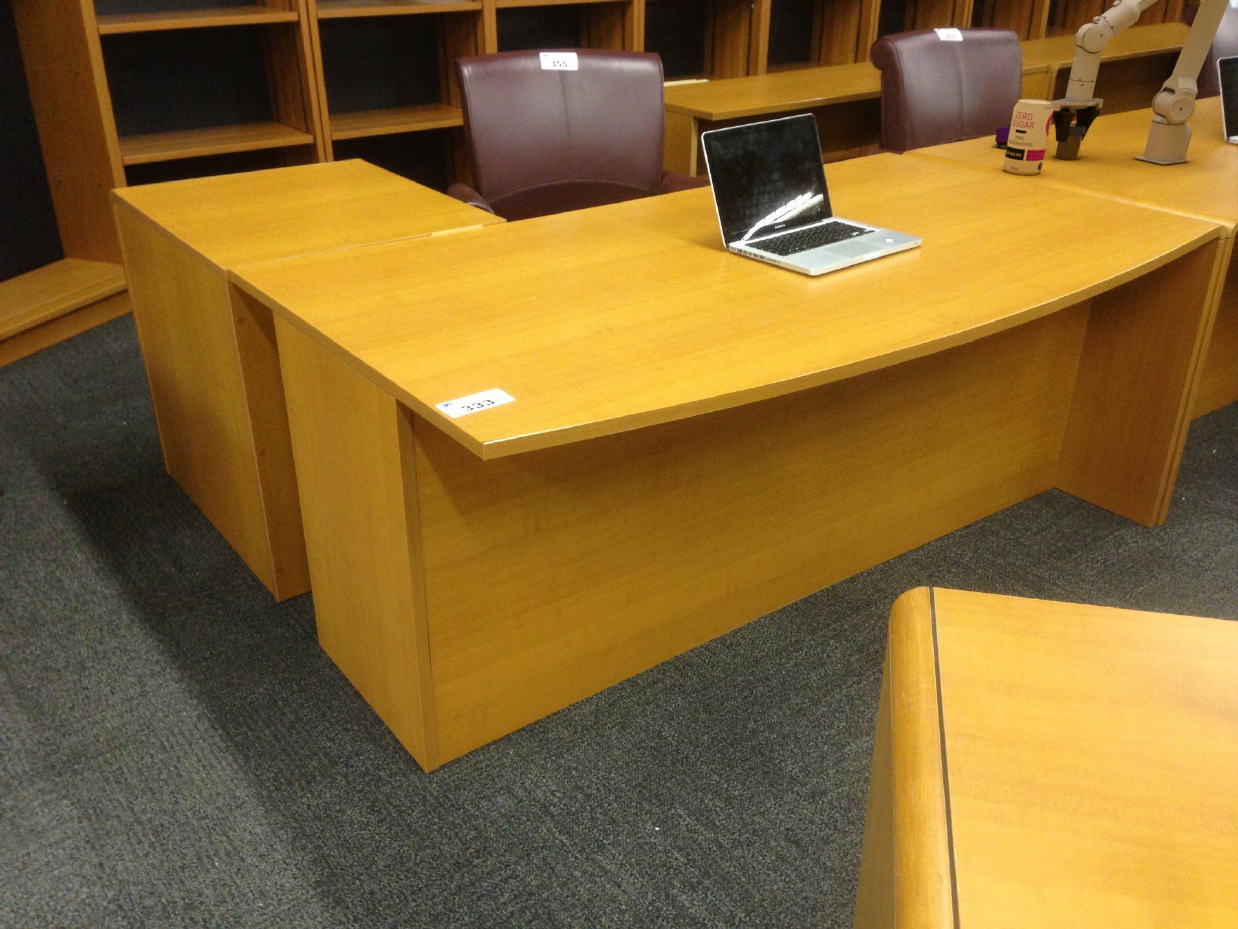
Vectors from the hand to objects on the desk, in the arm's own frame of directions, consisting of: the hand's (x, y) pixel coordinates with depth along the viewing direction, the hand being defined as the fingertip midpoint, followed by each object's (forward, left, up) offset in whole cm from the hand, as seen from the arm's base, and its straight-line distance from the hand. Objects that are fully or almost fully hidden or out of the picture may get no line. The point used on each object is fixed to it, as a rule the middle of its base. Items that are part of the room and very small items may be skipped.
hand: (1069, 140), depth 248 cm
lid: (0, 0, +3) cm, 3 cm away
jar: (0, 0, -4) cm, 4 cm away
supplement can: (+22, +6, -4) cm, 23 cm away
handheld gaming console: (-2, -16, -4) cm, 17 cm away
